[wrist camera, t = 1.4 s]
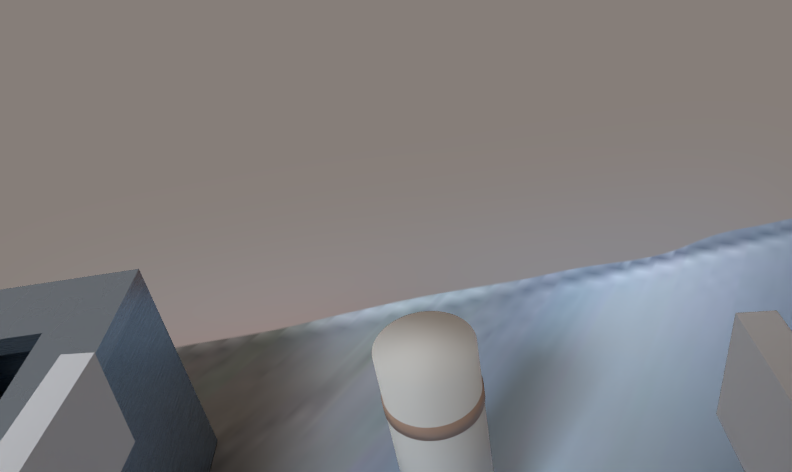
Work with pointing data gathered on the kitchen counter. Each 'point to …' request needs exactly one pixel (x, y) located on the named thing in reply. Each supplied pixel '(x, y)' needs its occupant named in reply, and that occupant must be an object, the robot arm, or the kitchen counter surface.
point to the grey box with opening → (107, 363)
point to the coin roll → (433, 393)
